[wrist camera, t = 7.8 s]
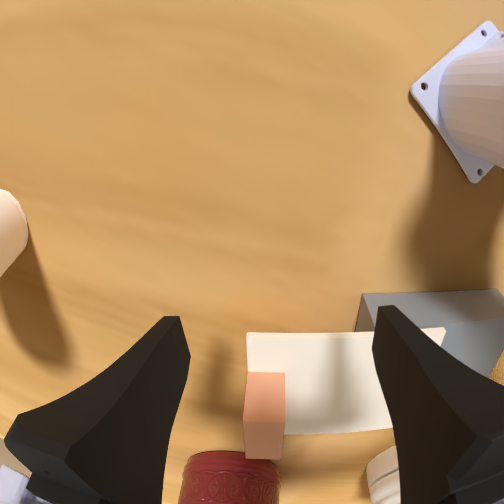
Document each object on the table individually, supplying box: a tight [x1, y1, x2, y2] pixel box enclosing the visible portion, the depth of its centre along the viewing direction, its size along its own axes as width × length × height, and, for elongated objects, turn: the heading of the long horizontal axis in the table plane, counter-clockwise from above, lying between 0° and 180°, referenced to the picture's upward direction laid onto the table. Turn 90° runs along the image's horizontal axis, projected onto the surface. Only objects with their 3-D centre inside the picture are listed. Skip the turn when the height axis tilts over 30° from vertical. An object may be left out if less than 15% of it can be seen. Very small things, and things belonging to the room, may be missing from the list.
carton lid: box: [243, 327, 446, 459], centre depth 19 cm, size 13×11×4 cm
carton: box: [355, 289, 504, 378], centre depth 23 cm, size 13×11×4 cm
